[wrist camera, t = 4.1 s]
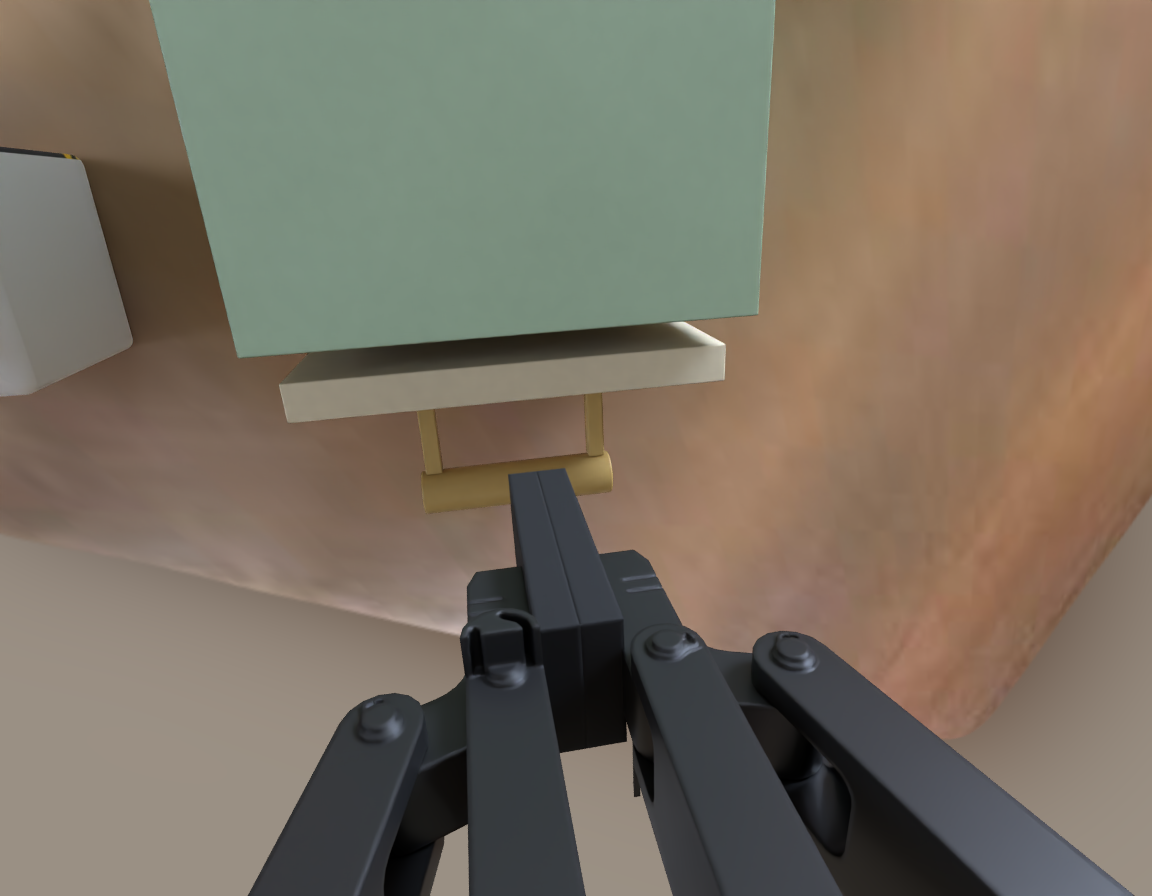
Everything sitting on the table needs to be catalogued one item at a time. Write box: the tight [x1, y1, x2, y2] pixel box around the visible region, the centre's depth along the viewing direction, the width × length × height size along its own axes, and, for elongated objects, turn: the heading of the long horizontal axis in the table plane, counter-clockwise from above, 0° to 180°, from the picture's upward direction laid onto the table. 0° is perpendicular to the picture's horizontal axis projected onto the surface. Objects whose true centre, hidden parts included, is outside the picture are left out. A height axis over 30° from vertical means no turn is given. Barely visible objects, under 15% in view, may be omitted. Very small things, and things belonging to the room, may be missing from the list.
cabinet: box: [149, 0, 776, 358], centre depth 20 cm, size 17×15×11 cm
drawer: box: [279, 321, 726, 514], centre depth 22 cm, size 20×13×9 cm, turn 3°
